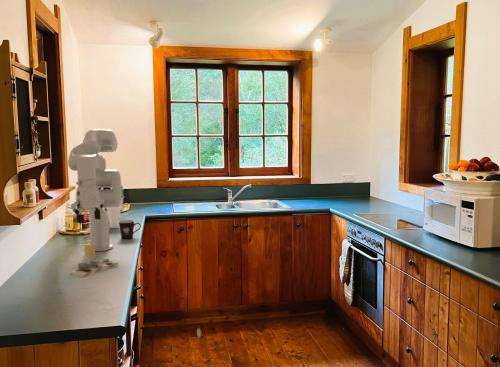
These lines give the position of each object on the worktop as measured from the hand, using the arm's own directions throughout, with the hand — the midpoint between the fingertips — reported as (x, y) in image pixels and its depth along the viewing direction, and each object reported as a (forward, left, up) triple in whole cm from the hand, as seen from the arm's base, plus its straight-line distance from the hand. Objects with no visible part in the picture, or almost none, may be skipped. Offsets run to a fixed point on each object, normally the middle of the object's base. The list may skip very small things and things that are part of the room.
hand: (89, 221), depth 203 cm
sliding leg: (+1, 0, -21) cm, 21 cm away
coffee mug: (-15, +57, -23) cm, 64 cm away
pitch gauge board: (+1, +1, -23) cm, 23 cm away
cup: (-41, +81, -23) cm, 93 cm away
